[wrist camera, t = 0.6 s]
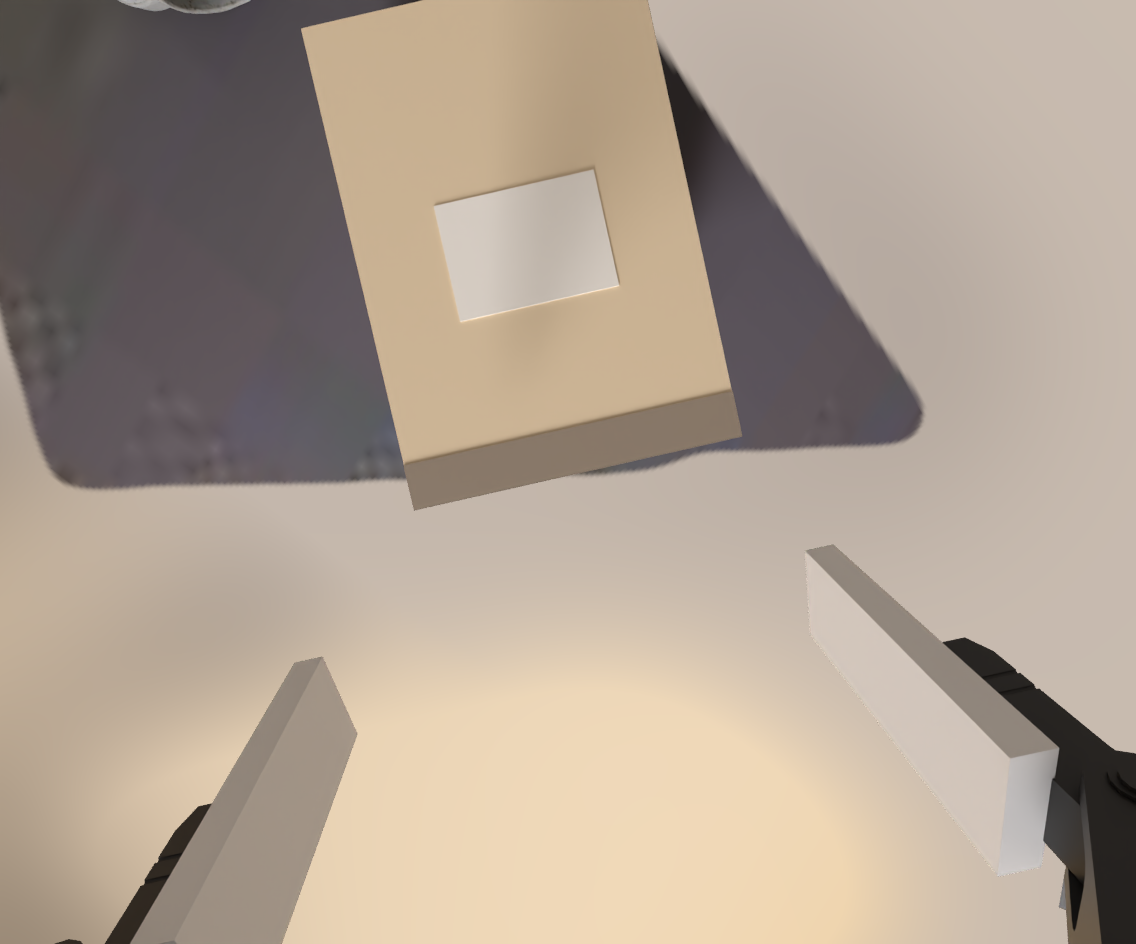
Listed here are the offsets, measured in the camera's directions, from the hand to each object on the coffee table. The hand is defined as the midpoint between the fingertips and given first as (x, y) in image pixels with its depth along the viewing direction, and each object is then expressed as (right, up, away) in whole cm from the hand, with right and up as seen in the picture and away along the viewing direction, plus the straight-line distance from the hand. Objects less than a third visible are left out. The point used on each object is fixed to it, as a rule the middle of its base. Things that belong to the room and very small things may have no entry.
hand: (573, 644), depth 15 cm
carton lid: (-2, +15, +10) cm, 18 cm away
